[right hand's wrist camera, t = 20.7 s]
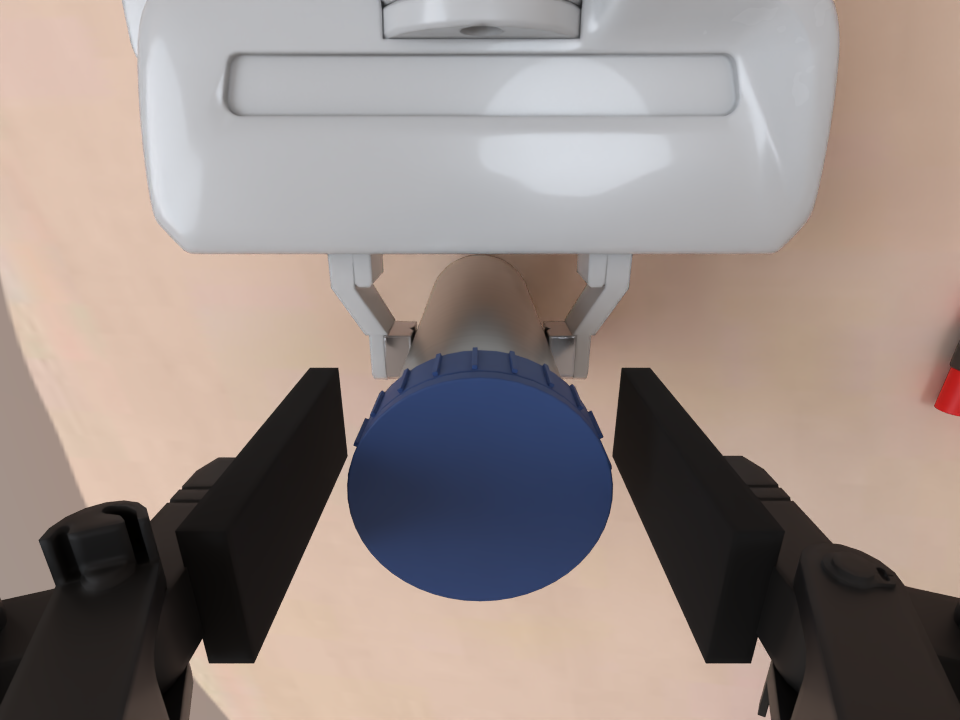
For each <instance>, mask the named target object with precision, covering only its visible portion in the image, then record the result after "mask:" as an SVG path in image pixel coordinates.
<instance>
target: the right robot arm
mask: <svg viewBox="0 0 960 720" xmlns="http://www.w3.org/2000/svg"><path fill="white" fill-rule="evenodd" d="M347 456H348V455H347V446H346V436H345V427H344V417H343V408H342V399H341V389H340V380H339V370H338V368H309V370H308V371H307V372H306V373H305V375H304V376H303V377H302V378H301V379H300V381H299V382H298V383H297V384H296V385H295V387H294V388H293V389H292V390H291V391H290V393H289V394H288V395H287V396H286V397H285V399H284V400H283V401H282V402H281V403H280V405H279V406H278V407H277V408H276V410H275V411H274V412H273V413H272V414H271V416H270V417H269V418H268V419H267V420H266V422H265V423H264V424H263V425H262V426H261V428H260V429H259V430H258V431H257V432H256V434H255V435H254V436H253V437H252V439H251V440H250V441H249V442H248V443H247V445H246V446H245V447H244V448H243V449H242V451H241V452H240V453H239V454H238V455H237V457H236V458H217V459H215V460H214V461H212V462H210V463H209V464H207V465H205V466H204V467H202V468H200V469H199V470H197V471H196V472H195V473H194V474H193V475H192V476H191V477H190V479H189V480H188V481H187V482H186V483H185V484H184V485H183V486H182V490H179V491H178V492H177V493H176V494H175V495H174V496H173V497H172V498H171V499H170V503H167V504H166V505H165V506H164V507H163V508H162V509H161V510H160V511H159V512H158V513H157V514H156V516H155V517H154V518H153V519H152V520H151V521H150V520H149V516H148V512H147V509H146V508H145V507H144V506H142V505H141V504H140V503H138V502H131V501H115V502H106V503H102V504H99V505H95V506H91V507H88V508H85V509H83V510H80V511H78V512H76V513H74V514H72V515H69V516H67V517H65V518H64V519H62V520H61V521H59V522H58V523H56V524H55V525H53V526H52V527H50V528H49V529H48V530H47V531H46V532H45V534H44V535H43V536H42V537H41V538H40V539H39V543H40V545H41V548H42V550H43V553H44V556H45V558H46V561H47V564H48V566H49V569H50V572H51V574H52V577H53V580H54V582H55V585H56V587H55V589H51V590H47V591H42V592H37V593H33V594H28V595H24V596H19V597H15V598H10V599H5V600H1V599H0V720H189V715H190V707H191V698H192V689H193V677H192V671H191V667H190V664H189V661H190V659H191V657H192V656H193V654H194V652H195V650H196V649H197V647H198V645H199V644H200V642H201V640H202V638H203V642H204V646H205V650H206V654H207V657H208V661H209V663H254V662H255V660H256V658H257V656H258V653H259V651H260V649H261V647H262V645H263V642H264V640H265V638H266V636H267V634H268V631H269V629H270V627H271V625H272V622H273V620H274V618H275V616H276V614H277V611H278V609H279V607H280V605H281V603H282V600H283V598H284V596H285V594H286V591H287V589H288V587H289V585H290V583H291V580H292V578H293V576H294V574H295V571H296V569H297V567H298V565H299V563H300V560H301V558H302V556H303V554H304V552H305V549H306V547H307V545H308V543H309V540H310V538H311V536H312V534H313V532H314V529H315V527H316V525H317V523H318V521H319V518H320V516H321V514H322V512H323V509H324V507H325V505H326V503H327V501H328V498H329V496H330V494H331V492H332V489H333V487H334V485H335V483H336V481H337V478H338V476H339V474H340V472H341V470H342V467H343V465H344V463H345V461H346V458H347ZM612 456H613V458H614V461H615V463H616V465H617V467H618V470H619V472H620V474H621V476H622V478H623V481H624V483H625V485H626V487H627V489H628V492H629V494H630V496H631V498H632V501H633V503H634V505H635V507H636V509H637V512H638V514H639V516H640V518H641V521H642V523H643V525H644V527H645V529H646V532H647V534H648V536H649V538H650V540H651V543H652V545H653V547H654V549H655V552H656V554H657V556H658V558H659V560H660V563H661V565H662V567H663V569H664V571H665V574H666V576H667V578H668V580H669V583H670V585H671V587H672V589H673V591H674V594H675V596H676V598H677V600H678V603H679V605H680V607H681V609H682V611H683V614H684V616H685V618H686V620H687V622H688V625H689V627H690V629H691V631H692V634H693V636H694V638H695V640H696V642H697V645H698V647H699V649H700V651H701V654H702V656H703V658H704V660H705V662H706V663H751V661H752V657H753V654H754V650H755V646H756V642H757V638H759V639H760V641H761V643H762V644H763V646H764V648H765V649H766V651H767V653H768V655H769V656H770V658H771V664H770V667H769V671H768V674H767V678H766V682H765V685H764V689H763V692H762V696H761V700H760V703H759V710H758V715H760V716H763V717H765V716H766V713H767V709H768V706H769V705H770V714H771V720H960V598H956V597H952V596H947V595H943V594H938V593H933V592H929V591H924V590H920V589H915V588H910V587H907V586H904V584H903V583H902V582H901V580H900V579H899V578H898V576H897V575H896V574H895V572H893V571H892V570H891V569H890V568H888V567H887V566H886V565H884V564H883V563H882V562H881V561H879V560H877V559H875V558H873V557H872V556H870V555H868V554H866V553H864V552H862V551H860V550H856V549H853V548H850V547H847V546H844V545H840V544H833V543H832V542H831V541H830V540H829V539H828V538H827V537H826V536H825V535H824V534H823V533H822V531H821V530H820V529H819V528H818V527H817V526H816V525H815V524H814V523H813V522H812V521H811V520H810V518H809V517H808V516H807V515H806V514H805V513H804V512H803V511H802V510H801V509H800V508H799V507H798V506H797V504H796V503H795V502H794V501H790V497H789V496H788V495H787V494H786V493H785V491H784V490H783V489H782V488H779V487H778V484H777V483H776V482H775V481H774V480H773V479H772V477H771V476H770V475H769V474H768V473H767V472H766V471H765V470H764V469H763V468H761V467H759V466H758V465H756V464H755V463H753V462H751V461H750V460H748V459H746V458H745V457H743V456H723V455H722V454H721V453H720V452H719V451H718V449H717V448H716V447H715V446H714V445H713V443H712V442H711V441H710V440H709V439H708V437H707V436H706V435H705V434H704V432H703V431H702V430H701V429H700V428H699V426H698V425H697V424H696V423H695V422H694V420H693V419H692V418H691V417H690V416H689V414H688V413H687V412H686V411H685V410H684V408H683V407H682V406H681V405H680V403H679V402H678V401H677V400H676V399H675V397H674V396H673V395H672V394H671V393H670V391H669V390H668V389H667V388H666V387H665V385H664V384H663V383H662V382H661V381H660V379H659V378H658V377H657V376H656V375H655V373H654V372H653V371H652V370H651V368H622V370H621V380H620V389H619V399H618V408H617V417H616V427H615V436H614V446H613V455H612Z"/></svg>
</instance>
